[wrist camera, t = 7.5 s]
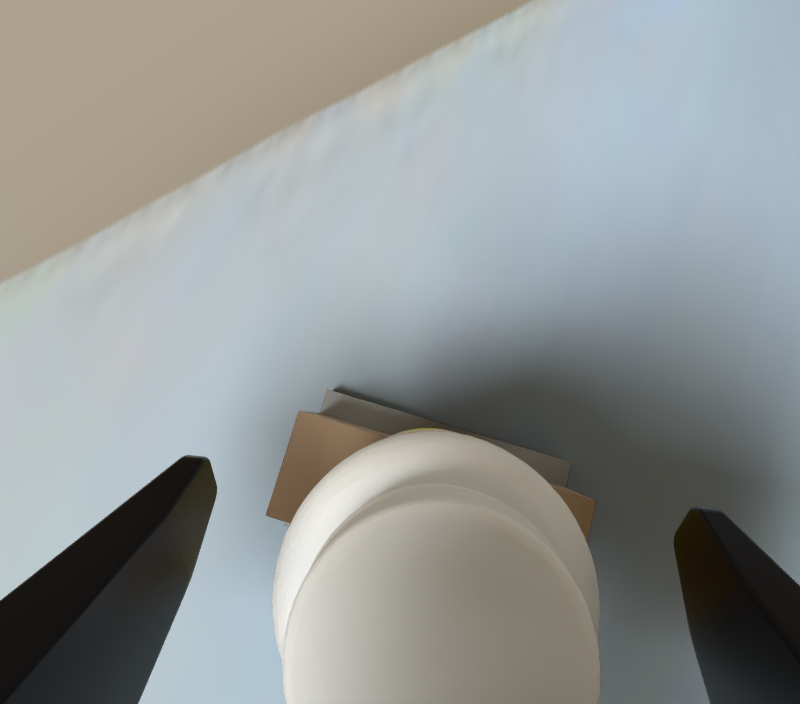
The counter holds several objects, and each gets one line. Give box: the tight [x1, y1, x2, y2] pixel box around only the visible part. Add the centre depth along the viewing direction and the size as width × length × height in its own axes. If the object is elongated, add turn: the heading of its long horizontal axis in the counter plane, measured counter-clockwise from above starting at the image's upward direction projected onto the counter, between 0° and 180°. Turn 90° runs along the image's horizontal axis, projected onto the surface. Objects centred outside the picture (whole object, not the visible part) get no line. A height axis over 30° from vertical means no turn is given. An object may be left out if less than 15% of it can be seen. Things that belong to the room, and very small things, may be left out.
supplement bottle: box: [272, 428, 601, 704], centre depth 11 cm, size 6×6×10 cm
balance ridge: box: [266, 390, 597, 542], centre depth 19 cm, size 10×6×4 cm, turn 74°
